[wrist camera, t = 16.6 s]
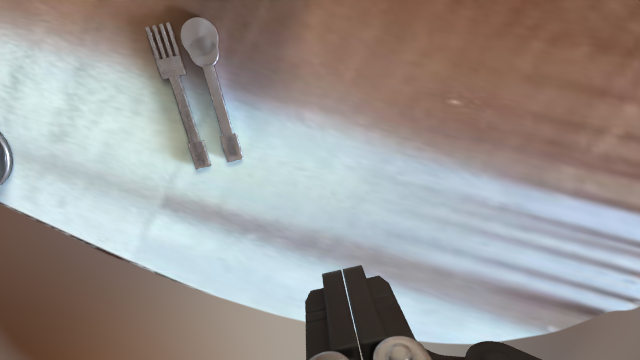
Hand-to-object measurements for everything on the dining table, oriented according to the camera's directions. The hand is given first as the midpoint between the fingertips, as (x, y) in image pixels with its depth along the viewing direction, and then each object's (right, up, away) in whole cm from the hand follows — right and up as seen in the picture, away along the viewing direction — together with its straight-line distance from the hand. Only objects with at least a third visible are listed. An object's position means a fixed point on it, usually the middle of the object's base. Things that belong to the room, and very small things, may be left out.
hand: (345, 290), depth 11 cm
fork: (-17, +13, +23) cm, 32 cm away
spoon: (-13, +14, +23) cm, 30 cm away
